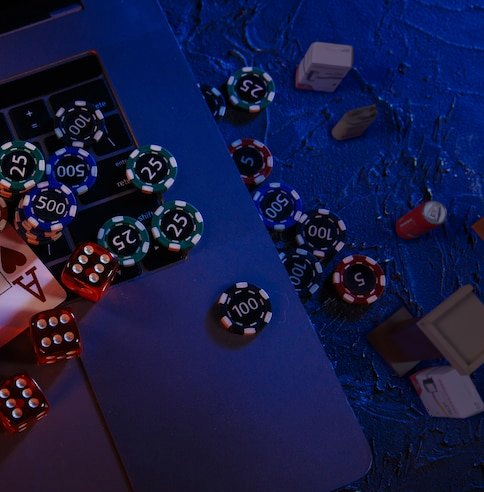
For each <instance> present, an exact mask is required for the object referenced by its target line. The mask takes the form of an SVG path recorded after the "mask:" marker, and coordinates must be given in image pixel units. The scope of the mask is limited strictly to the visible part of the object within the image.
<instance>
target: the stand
mask: <svg viewBox="0 0 484 492" xmlns="http://www.w3.org/2000/svg"><path fill="white" fill-rule="evenodd" d="M427 314H428V313H426V314H422V315H418V316H413V315H412V314H411V313H410V312H409V310H408V309H407V308H406V307H405V306H401V307H399V308H398V309H397V310H396V311H395V312H393V313H392V314H390V315H389V316H388V317H386V319H384V320H383V321H382V322H381V323H380V324H378V325H377V326H376V327H375V328H373V329H372V330H370V332H368V333H367V334H366V335H365V336H364V339H366V341H367V342H368V343H369V344H370V345H371V346H372V347H373V349H374V350H375V351H376V353H378V355H379V356H380V357H381V358H382V360H383V361H384V362H385V364H387V366H388V367H389V368H390V369H391V371H392V372H393V373H394V374H395V375H396V376H397V378H402V377H403V376H405V375H406V374H407V373H409V372H410V371H411V370H412V369H413V368H414V367H416V366H417V365H418V364H419V363H421V362H422V361H429V360H437V359H438V360H439V359H446V358H445V357H444V356H443V354H442V353H441V352H440V351H439V350H438V349H437V348H436V346H435V345H434V344H433V343H432V342H431V341H430V339H429V338H428V337H427V336H426V335H425V334H424V332H423V331H422V330H421V329H420V328H419V327H418V325H417V324H416V323H417V322H419V321H420V320H421V319H422V318H424V317H425V316H426V315H427Z"/></svg>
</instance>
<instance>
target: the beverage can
mask: <svg viewBox="0 0 484 492" xmlns="http://www.w3.org/2000/svg"><path fill="white" fill-rule="evenodd" d="M445 206H446V205H444V204H443V203H442V202H440V201H438V200H427V201H424V202H423V203H421V204H419V205H417V206H416V207H414V208H413V209H411V210H410V211H408V212H407V213H405V214H403V215H401V217H399V218H398V219H397V221H396V223H395V233H396V234H397V236H398V237H400V238H401V239H404V240H407V241H408V240H409V241H411V240H416V239H417V238H419V237H421V236H423V235H425V234H427V233H429V232H430V231H432V230H434V229H436V228H438V227H440V226H441V225H443V224H445V221H446V219H447V217H448V211H447V208H446V207H445Z"/></svg>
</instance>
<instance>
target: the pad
mask: <svg viewBox="0 0 484 492" xmlns="http://www.w3.org/2000/svg"><path fill="white" fill-rule="evenodd" d="M470 227H471V229H473V231H474V232H475V233H476V234H477V235H478V236H479V238H480V239H482V241H484V216H482V217H480V219H478V220H477V221H476V222H474V224H472V225H471V226H470Z"/></svg>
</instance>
